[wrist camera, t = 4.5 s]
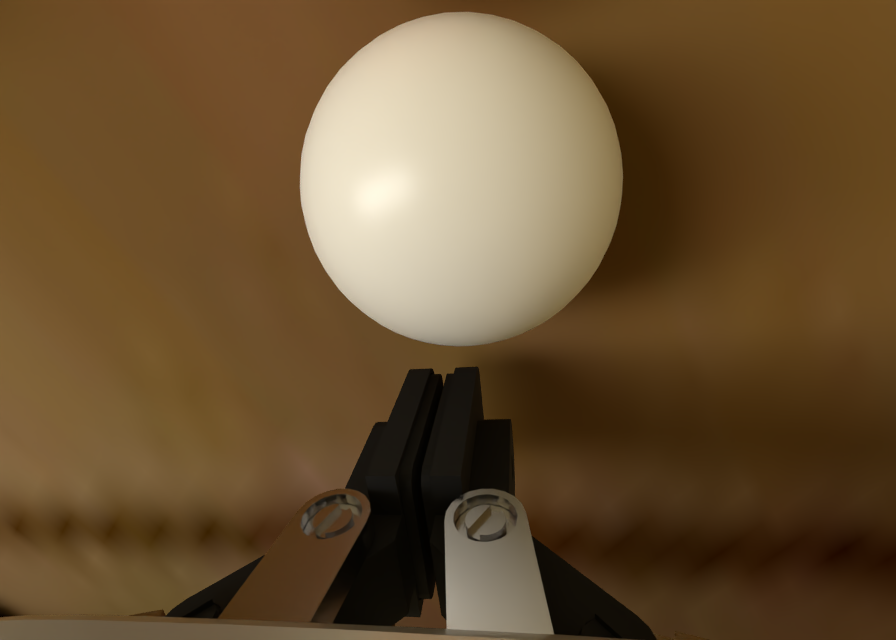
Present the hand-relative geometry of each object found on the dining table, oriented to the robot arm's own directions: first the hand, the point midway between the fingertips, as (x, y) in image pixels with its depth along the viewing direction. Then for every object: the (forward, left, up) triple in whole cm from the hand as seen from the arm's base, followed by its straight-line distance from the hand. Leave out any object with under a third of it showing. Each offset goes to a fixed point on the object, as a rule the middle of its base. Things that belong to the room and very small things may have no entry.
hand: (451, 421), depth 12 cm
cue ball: (+2, +5, +1) cm, 6 cm away
